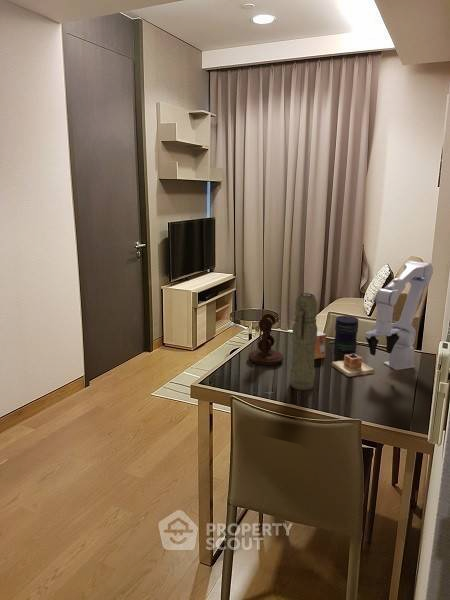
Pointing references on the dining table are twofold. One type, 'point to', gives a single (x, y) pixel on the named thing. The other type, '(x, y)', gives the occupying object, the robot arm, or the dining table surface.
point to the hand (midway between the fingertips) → (380, 353)
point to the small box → (320, 345)
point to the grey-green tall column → (304, 342)
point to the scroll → (266, 344)
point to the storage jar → (346, 335)
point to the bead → (352, 361)
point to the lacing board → (352, 372)
